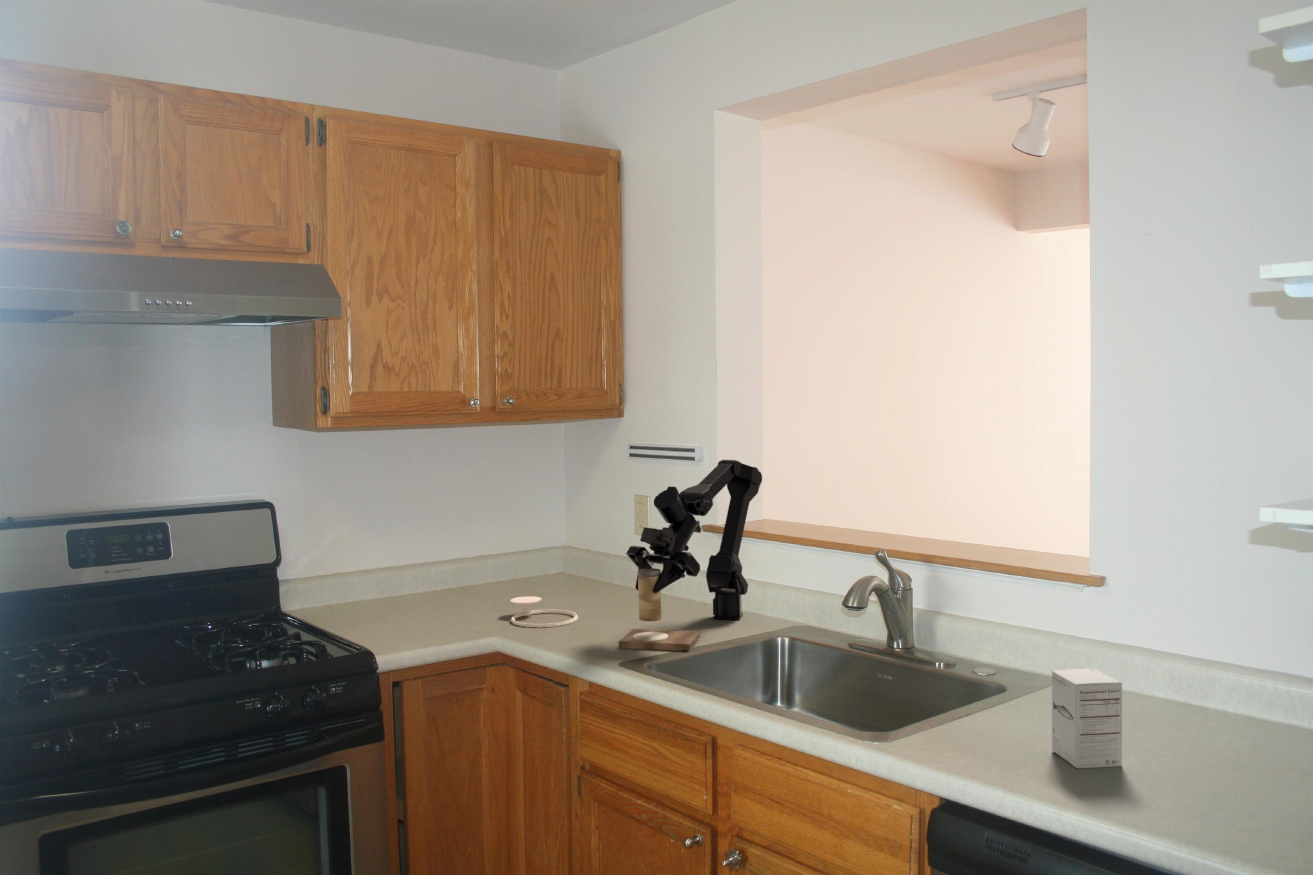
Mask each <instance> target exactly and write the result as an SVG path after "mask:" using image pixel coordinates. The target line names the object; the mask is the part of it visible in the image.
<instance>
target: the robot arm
mask: <svg viewBox="0 0 1313 875" xmlns="http://www.w3.org/2000/svg"><path fill="white" fill-rule="evenodd" d="M762 474H763V473H762V472H761V471H760V470H759V469H758V467H756V466H751V465H748V464H745V463H742V462H740V460H737V459H722V460H721V459H720V460H719V461H718V463H717V465H716V467H714V468H713V469H712V470H711V471H710V472H709V473H708V474H707V475H706V476H705V477H704V478H703V479H702V480H701V481H700V482H699V483H698V484H696V485H693V486H690V487H687V488H685V489H683V490H682V491H680V492H679V490H678V488H677V487H676V486H667V489H665V490H663V491H661V492H660V493H658V494H657V495H656V496H655V498H654V500H653V505H654V507H655V508H656V510H657V511H658V513H659V514H660V516H661V517H662V519H663V521H664V522H665V523H666V524H669V525H668V527H662V528H660V529H659V528H654V527H643V529H642V533H641V536H640V538H639V541H640V542H642V543H645V544H648V545H649V549H650V551H653V553H650V552H649V551H648V549H647V548H646V547H645V546H639V545H631V546H629V548H628V549H627V551H626V553H625V555H627V557H628V558H629V559H630V561H632V562H633V564H634V565H635V566H636V568H638V569H637V571H638V570H639V569H646V568H653V566H654V564H658V565H662V570H661V574H660V576H659V578H658V579H657V581H656V583H655V585H654V588H653V592H654V593H657V592H659V591H660V590H661V591H662V590H664V589H665V588H667V587H668V586H669V585H671V584H672V583H675V582H676V581H678V580H681V579H682V578H683V579H684V578H685V577H686V576H687V577H688V576H689V577H694V578H695V577H696V578H697V576H698V575H699V572H700V571H701V564H700V563H699V561H698V560H697V559H696V558H695V556H694V555H693V554H692V553H691V552H688V550H689V549H690V547H689V545H688V543H689V541H690V539H691V538H692V536H693V534H694V533H699V534H701V533H702V528H701V525H700V520H697V519H696V518H695V516H698V517H705V516H707V514H708V513H709V512H710V510H711V509H712V508H713V506H714V498H715V497H716V496H717V495H718V494H719V493H720V492H721V491H722V490H723V489H724V488H725V487H727V491H728V494H729V496H730V499H729V504H728V509H727V513H726V516H725V517H726V518H725V522H724V523H725V524H724V528H723V532H722V537H721V542H720V546H719V550H718V552H717V553H716V554H714V555H710V556H709V558H708V559H709V560H708V564H707V568H706V573H705V574H706V575H705V578H706V585H707V588H708V592H709V593H714V597H713V599H712V615H713V619H714V620H737V621H738V620H741V618H742V617H743V615H744V612H743V611H742V609H743V608H742V607H743V606H742V604H743V603H742V596H743V595H747V593H748V591H749V583H748V582H747V580H746V578H745V577H744V576H743V566H742V563H741V560H740V557H739V555H740V550H741V544H742V539H743V535H744V529H745V525H746V520H747V516H748V510H749V506H750V502H751V501H752V500H753V499H754V498H755V497H756V496H757V494H758V493H759V490H760V488H761V484H762V481H763V475H762ZM635 590H636V591H638V574H637V575H636V582H635Z"/></svg>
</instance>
